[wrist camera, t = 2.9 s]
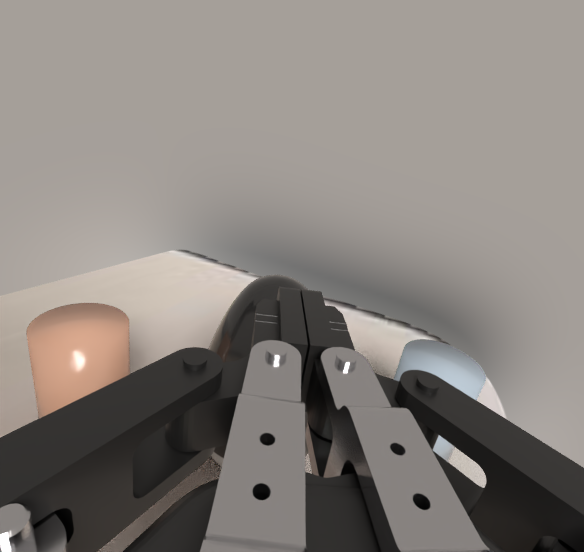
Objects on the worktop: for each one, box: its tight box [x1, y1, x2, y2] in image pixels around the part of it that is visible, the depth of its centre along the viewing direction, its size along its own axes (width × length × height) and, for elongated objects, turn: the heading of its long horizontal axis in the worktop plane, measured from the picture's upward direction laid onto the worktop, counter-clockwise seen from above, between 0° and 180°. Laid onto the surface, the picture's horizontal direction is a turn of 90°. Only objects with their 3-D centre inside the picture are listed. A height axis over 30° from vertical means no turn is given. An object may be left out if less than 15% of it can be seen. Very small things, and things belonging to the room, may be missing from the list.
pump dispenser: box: [209, 275, 347, 467], centre depth 28 cm, size 10×10×15 cm
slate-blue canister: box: [393, 339, 486, 462], centre depth 31 cm, size 6×6×10 cm
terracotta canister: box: [27, 303, 130, 418], centre depth 27 cm, size 6×6×10 cm
